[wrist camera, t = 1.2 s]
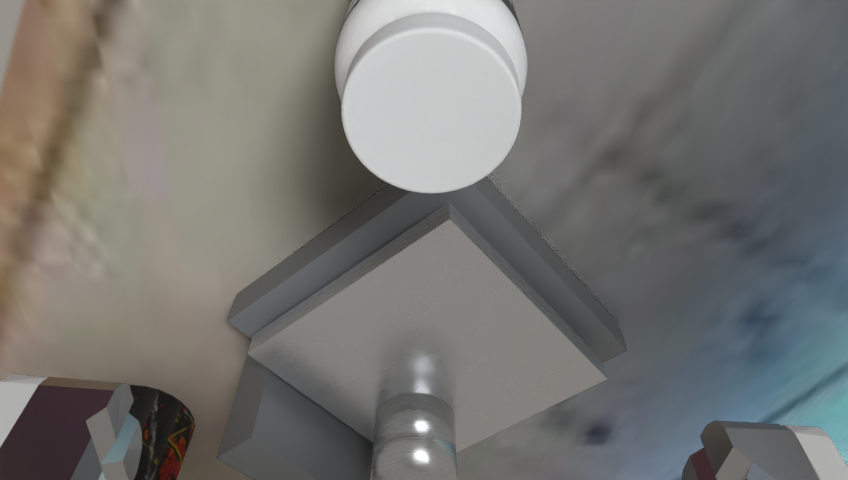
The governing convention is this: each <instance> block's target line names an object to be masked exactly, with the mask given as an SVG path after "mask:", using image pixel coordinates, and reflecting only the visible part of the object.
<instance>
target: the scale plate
mask: <svg viewBox="0 0 848 480" xmlns="http://www.w3.org/2000/svg"><path fill="white" fill-rule="evenodd" d="M247 354H248V355H249V356H251V357H252V358H254V359H255V360H257V361H258V362H259V363H261V364H262V365H264V366H265V367H266V368H268V369H269V370H271V371H272V372H273V373H275V374H276V375H278V376H279V377H280V378H282V379H283V380H285V381H286V382H288V383H289V384H290V385H292V386H293V387H295V388H296V389H297V390H299V391H300V392H302V393H303V394H304V395H306V396H307V397H309V398H310V399H311V400H313V401H314V402H316V403H317V404H319V405H320V406H321V407H323V408H324V409H326V410H327V411H328V412H330V413H331V414H333V415H334V416H335V417H337V418H338V419H340V420H341V421H342V422H344V423H345V424H347V425H348V426H350V427H351V428H352V429H354V430H355V431H357V432H358V433H359V434H361V435H362V436H364V437H365V438H366V439H368V440H369V441H371V442H372V443H373V442H374V430H375V419H376V412H377V410H378V408H379V407H380V405H381V404H382V403H383V402H385V401H386V400H388V399H389V398H391V397H393V396H396V395H399V394H404V393H425V394H430V395H433V396H436V397H438V398H440V399H442V400H444V401H445V402H446V403H447V404H449V405H450V407H451V408H452V410H453V411H454V414H455V431H456V453H457V452H459V451H461V450H463V449H465V448H467V447H469V446H471V445H473V444H475V443H477V442H480V441H482V440H484V439H486V438H488V437H490V436H492V435H494V434H496V433H498V432H500V431H502V430H504V429H506V428H508V427H510V426H512V425H514V424H516V423H518V422H520V421H523V420H525V419H527V418H529V417H531V416H533V415H535V414H537V413H539V412H541V411H543V410H545V409H547V408H549V407H551V406H553V405H555V404H557V403H559V402H561V401H564V400H566V399H568V398H570V397H572V396H574V395H576V394H578V393H580V392H582V391H584V390H586V389H588V388H590V387H592V386H594V385H596V384H598V383H600V382H602V381H604V380H607V375H606V371H605V368H604V364H603V360H602V359H601V358H600V357H599V356H598V355H597V354H596V353H595V352H594V351H593V350H592V349H591V348H590V347H589V346H588V345H587V344H586V343H585V342H584V341H583V340H582V339H581V338H580V336H579V335H578V334H577V333H576V332H575V331H574V330H573V329H572V328H571V327H570V326H569V325H568V324H567V323H566V322H565V321H564V320H563V319H562V318H561V317H560V316H559V315H558V314H557V313H556V312H555V311H554V310H553V309H552V308H551V307H550V306H549V304H548V303H547V302H546V301H545V300H544V299H543V298H542V297H541V296H540V295H539V294H538V293H537V292H536V291H535V290H534V289H533V288H532V287H531V286H530V285H529V284H528V283H527V282H526V281H525V280H524V279H523V278H522V277H521V276H520V275H519V274H518V272H517V271H516V270H515V269H514V268H513V267H512V266H511V265H510V264H509V263H508V262H507V261H506V260H505V259H504V258H503V257H502V256H501V255H500V254H499V253H498V252H497V251H496V250H495V249H494V248H493V247H492V246H491V245H490V244H489V243H488V242H487V241H486V239H485V238H484V237H483V236H482V235H481V234H480V233H479V232H478V231H477V230H476V229H475V228H474V227H473V226H472V225H471V224H470V223H469V222H468V221H467V220H466V219H465V218H464V217H463V216H462V215H461V214H460V213H459V212H458V211H457V210H456V209H455V207H454V206H453V205H452V204H451V203H450V202H448V203H447V204H445V205H444V206H442V207H441V208H440V209H438V210H437V211H435V212H434V213H432V214H431V215H429V216H428V217H426V218H425V219H423V220H422V221H420V222H419V223H417V224H416V225H415V226H413V227H412V228H410V229H409V230H407V231H406V232H404V233H403V234H401V235H400V236H398V237H397V238H395V239H394V240H392V241H391V242H390V243H388V244H387V245H385V246H384V247H382V248H381V249H379V250H378V251H376V252H375V253H373V254H372V255H370V256H369V257H367V258H366V259H365V260H363V261H362V262H360V263H359V264H357V265H356V266H354V267H353V268H351V269H350V270H348V271H347V272H345V273H344V274H342V275H341V276H340V277H338V278H337V279H335V280H334V281H332V282H331V283H329V284H328V285H326V286H325V287H323V288H322V289H320V290H319V291H317V292H316V293H315V294H313V295H312V296H310V297H309V298H307V299H306V300H304V301H303V302H301V303H300V304H298V305H297V306H295V307H294V308H292V309H291V310H290V311H288V312H287V313H285V314H284V315H282V316H281V317H279V318H278V319H276V320H275V321H273V322H272V323H270V324H269V325H267V326H266V327H265V328H263V329H262V330H260V331H259V332H257V333H256V334H254V335H253V337H252V340H251V343H250V346H249V350H248V353H247Z"/></svg>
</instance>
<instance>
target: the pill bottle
mask: <svg viewBox="0 0 848 480" xmlns="http://www.w3.org/2000/svg"><path fill="white" fill-rule="evenodd" d="M334 70H335V82H336V87H337V91H338V94H339V97H340V100H341V117H342V124H343V129H344V132H345V135H346V138H347V140H348V143H349V145H350V146H351V148H352V150H353V152H354V153H355V155H356V156H357V157H358V159H359V160H360V161H361V163H362V164H363V165H364V166H365V167H366V168H367V169H368V170H370V171H371V172H372V173H373V174H375V175H376V176H377V177H379V178H380V179H382V180H384V181H385V182H387V183H389V184H391V185H393V186H396V187H399V188H401V189H405V190H408V191H413V192H419V193H443V192H449V191H454V190H458V189H461V188H464V187H467V186H469V185H472V184H474V183H476V182H477V181H479V180H481V179H483V178H484V177H485V176H487V175H488V174H489V173H491V172H492V171H493V170H494V169H495V168H496V167H497V166H498V165H499V164H500V163H501V162H502V161H503V160H504V158H505V157H506V156H507V154H508V153H509V151H510V150H511V148H512V146H513V144H514V142H515V139H516V137H517V134H518V130H519V127H520V121H521V98H522V95H523V91H524V88H525V83H526V77H527V55H526V47H525V42H524V38H523V34H522V31H521V28H520V25H519V22H518V18H517V15H516V12H515V9H514V6H513V3H512V0H350V3H349V6H348V10H347V13H346V16H345V19H344V21H343V24H342V27H341V30H340V33H339V37H338V41H337V46H336V52H335V66H334Z"/></svg>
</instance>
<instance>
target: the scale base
mask: <svg viewBox="0 0 848 480" xmlns="http://www.w3.org/2000/svg"><path fill="white" fill-rule="evenodd" d="M448 202H450V203H451V204H452V205H453V206H454V207H455V209H456V210H457V211H458V212H459V213H460V214H461V215H462V216H463V217H464V218H465V219H466V220H467V221H468V222H469V223H470V224H471V225H472V226H473V227H474V228H475V229H476V230H477V231H478V232H479V233H480V234H481V235H482V236H483V237H484V238H485V239H486V241H487V242H488V243H489V244H490V245H491V246H492V247H493V248H494V249H495V250H496V251H497V252H498V253H499V254H500V255H501V256H502V257H503V258H504V259H505V260H506V261H507V262H508V263H509V264H510V265H511V266H512V267H513V268H514V269H515V270H516V271H517V272H518V274H519V275H520V276H521V277H522V278H523V279H524V280H525V281H526V282H527V283H528V284H529V285H530V286H531V287H532V288H533V289H534V290H535V291H536V292H537V293H538V294H539V295H540V296H541V297H542V298H543V299H544V300H545V301H546V302H547V303H548V304H549V306H550V307H551V308H552V309H553V310H554V311H555V312H556V313H557V314H558V315H559V316H560V317H561V318H562V319H563V320H564V321H565V322H566V323H567V324H568V325H569V326H570V327H571V328H572V329H573V330H574V331H575V332H576V333H577V334H578V335H579V336H580V338H581V339H582V340H583V341H584V342H585V343H586V344H587V345H588V346H589V347H590V348H591V349H592V350H593V351H594V352H595V353H596V354H597V355H598V356H599V357H600V358H601V359H602V360H603V362H605V361H607V360H609V359H611V358H613V357H615V356H617V355H619V354H621V353H623V352H625V351H627V349H626V345H625V342H624V339H623V336H622V333H621V330H620V327H619V323H618V322H617V321H616V319H615V318H614V317H613V316H612V315H611V314H610V313H609V312H608V311H607V309H606V308H605V307H604V306H603V305H602V304H601V303H600V302H599V301H598V300H597V298H596V297H595V296H594V295H593V294H592V293H591V292H590V291H589V290H588V288H587V287H586V286H585V285H584V284H583V283H582V282H581V281H580V280H579V279H578V277H577V276H576V275H575V274H574V273H573V272H572V271H571V270H570V269H569V268H568V266H567V265H566V264H565V263H564V262H563V261H562V260H561V259H560V258H559V256H558V255H557V254H556V253H555V252H554V251H553V250H552V249H551V248H550V247H549V245H548V244H547V243H546V242H545V241H544V240H543V239H542V238H541V237H540V235H539V234H538V233H537V232H536V231H535V230H534V229H533V228H532V227H531V226H530V224H529V223H528V222H527V221H526V220H525V219H524V218H523V217H522V216H521V214H520V213H519V212H518V211H517V210H516V209H515V208H514V207H513V206H512V205H511V203H510V202H509V201H508V200H507V199H506V198H505V197H504V196H503V195H502V194H501V192H500V191H499V190H498V189H497V188H496V187H495V186H494V185H493V184H492V182H491V181H490V180H489V179H488V178H487V177H486V176H485V177H484V178H483V179H481V180H479V181H477V182H476V183H474V184H472V185H469V186H467V187H464V188H461V189H458V190H454V191H449V192H443V193H419V192H413V191H408V190H405V189H401V188H399V187H396V186H393V185H391V184H388V185H387V186H385V187H384V188H383V189H381V190H380V191H378V192H377V193H376V194H374V195H373V196H372V197H370V198H369V199H367V200H366V201H365V202H363V203H362V204H361V205H359V206H358V207H356V208H355V209H354V210H352V211H351V212H350V213H348V214H347V215H345V216H344V217H343V218H341V219H340V220H339V221H337V222H336V223H334V224H333V225H332V226H330V227H329V228H328V229H326V230H325V231H323V232H322V233H321V234H319V235H318V236H317V237H315V238H314V239H312V240H311V241H310V242H308V243H307V244H306V245H304V246H303V247H301V248H300V249H299V250H297V251H296V252H295V253H293V254H292V255H290V256H289V257H288V258H286V259H285V260H283V261H282V262H281V263H279V264H278V265H277V266H275V267H274V268H272V269H271V270H270V271H268V272H267V273H266V274H264V275H263V276H261V277H260V278H259V279H257V280H256V281H255V282H253V283H252V284H250V285H249V286H248V287H246V288H245V289H244V290H242V291H241V292H239V293H238V294H237V296H236V298H235V301H234V304H233V307H232V310H231V312H230V315H229V318H228V321H227V322H228V323H230V324H231V325H233V326H234V327H235V328H237V329H238V330H239V331H241V332H242V333H244V334H245V335H246V336H248V337H249V338H250V339H252V337H253V335H254V334H256V333H257V332H259V331H260V330H262V329H263V328H265V327H266V326H267V325H269V324H270V323H272V322H273V321H275V320H276V319H278V318H279V317H281V316H282V315H284V314H285V313H287V312H288V311H290V310H291V309H292V308H294V307H295V306H297V305H298V304H300V303H301V302H303V301H304V300H306V299H307V298H309V297H310V296H312V295H313V294H315V293H316V292H317V291H319V290H320V289H322V288H323V287H325V286H326V285H328V284H329V283H331V282H332V281H334V280H335V279H337V278H338V277H340V276H341V275H342V274H344V273H345V272H347V271H348V270H350V269H351V268H353V267H354V266H356V265H357V264H359V263H360V262H362V261H363V260H365V259H366V258H367V257H369V256H370V255H372V254H373V253H375V252H376V251H378V250H379V249H381V248H382V247H384V246H385V245H387V244H388V243H390V242H391V241H392V240H394V239H395V238H397V237H398V236H400V235H401V234H403V233H404V232H406V231H407V230H409V229H410V228H412V227H413V226H415V225H416V224H417V223H419V222H420V221H422V220H423V219H425V218H426V217H428V216H429V215H431V214H432V213H434V212H435V211H437V210H438V209H440V208H441V207H442V206H444V205H445V204H447V203H448ZM372 453H373V443H372V442H371V441H369V440H368V439H366V438H365V437H364V436H362V435H361V434H359V433H358V432H357V431H355V430H354V429H352V428H351V427H350V426H348V425H347V424H345V423H344V422H342V421H341V420H340V419H338V418H337V417H335V416H334V415H333V414H331V413H330V412H328V411H327V410H326V409H324V408H323V407H321V406H320V405H319V404H317V403H316V402H314V401H313V400H311V399H310V398H309V397H307V396H306V395H304V394H303V393H302V392H300V391H299V390H297V389H296V388H295V387H293V386H292V385H290V384H289V383H288V382H286V381H285V380H283V379H282V378H280V377H279V376H278V375H276V374H275V373H273V372H272V371H271V370H269V369H268V368H266V367H265V366H264V365H262V364H261V363H259V362H258V361H257V360H255V359H254V358H252V357H251V356H249V355H248V357H247V360H246V363H245V367H244V370H243V373H242V377H241V380H240V383H239V386H238V390H237V393H236V396H235V400H234V403H233V406H232V409H231V413H230V416H229V419H228V423H227V426H226V429H225V433H224V436H223V439H222V442H221V446H220V449H219V452H218V456H217V458H218V459H219V460H221V461H223V462H224V463H226V464H228V465H229V466H231V467H233V468H234V469H236V470H238V471H239V472H241V473H243V474H244V475H246V476H248V477H249V478H251V479H253V480H370V476H371V465H372Z"/></svg>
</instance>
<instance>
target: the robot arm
mask: <svg viewBox="0 0 848 480" xmlns="http://www.w3.org/2000/svg"><path fill="white" fill-rule="evenodd" d="M133 401H134V399H133V396H132V393H131V389H130V386H129V384H123V383H113V382H102V381H91V380H80V379H69V378H58V377H45V376H32V375H19V374H10V375H9V376H7V377H6V378H5V379H3V380H2V381H0V480H134V478H135V475H136V473H137V470H138V466H139V461H140V456H141V451H142V432H141V427H140V423H139V421H138V420H137V419H136V418H134V417H133V416H132V415H131V414H129V413H128V412H129V410H130V408H131V406H132V403H133ZM700 438H701V440H702V443H703V446H704V448H702V449H701V450H699V451H697V452H695V453H694V454H692V455H690V456H689V458H688V461H687V463H686V465H685V467H684V469H683V474H682V480H848V467H847V465H846V463H845V462H844V460H843V458H842V456H841V455H840V453H839V451H838V450H837V448H836V446H835V445H834V443H833V441H832V440H831V438H830V436H829V435H828V434H827V433H826V432H825V431H823V430H822V429H821V428H820V427H805V426H790V425H779V424H768V423H749V422H729V421H713V422H711V423H710V424H708V425H706V427H705V429H704V430H703V432H702V434H701V436H700Z"/></svg>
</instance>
